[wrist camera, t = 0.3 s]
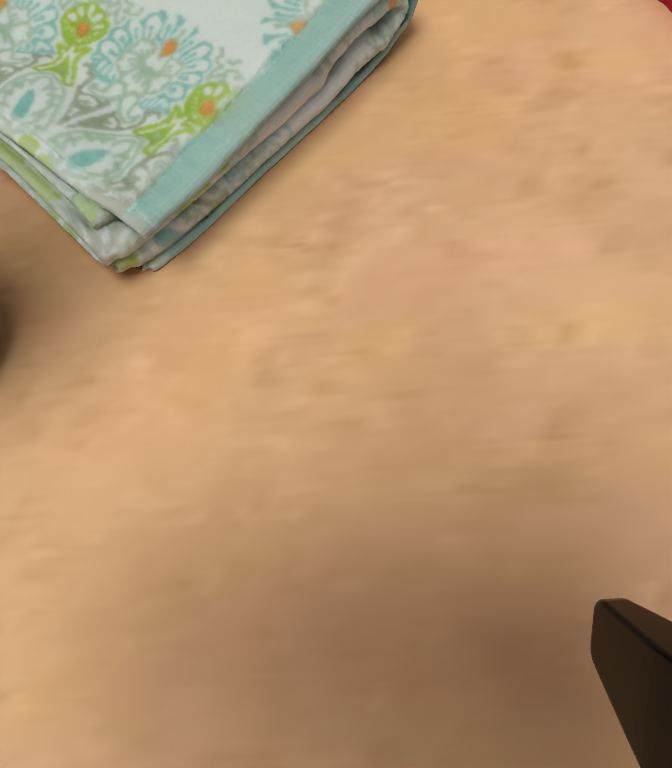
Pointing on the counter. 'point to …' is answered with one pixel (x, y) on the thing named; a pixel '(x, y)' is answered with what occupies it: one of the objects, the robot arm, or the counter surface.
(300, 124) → the towel
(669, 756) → the robot arm
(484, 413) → the counter surface
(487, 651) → the counter surface
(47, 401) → the counter surface
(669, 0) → the dish drying mat
